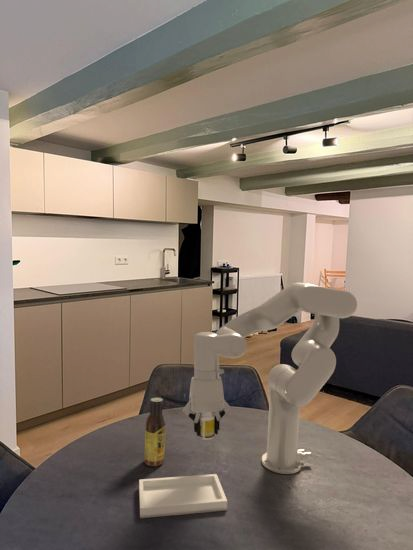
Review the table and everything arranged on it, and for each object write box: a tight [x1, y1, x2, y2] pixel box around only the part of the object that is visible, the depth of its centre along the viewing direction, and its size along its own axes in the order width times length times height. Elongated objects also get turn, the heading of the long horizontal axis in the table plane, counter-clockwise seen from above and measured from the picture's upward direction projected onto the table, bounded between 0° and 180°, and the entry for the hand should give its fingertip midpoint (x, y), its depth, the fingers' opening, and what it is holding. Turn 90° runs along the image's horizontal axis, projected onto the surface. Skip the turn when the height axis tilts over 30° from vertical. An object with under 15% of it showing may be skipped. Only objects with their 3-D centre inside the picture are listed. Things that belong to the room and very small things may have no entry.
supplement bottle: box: [198, 412, 216, 441], centre depth 116 cm, size 5×5×8 cm
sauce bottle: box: [143, 397, 167, 468], centre depth 120 cm, size 7×6×20 cm
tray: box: [138, 473, 228, 519], centre depth 102 cm, size 22×12×2 cm, turn 101°
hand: (206, 432), depth 116 cm, fingers closed on supplement bottle, 4 cm apart
